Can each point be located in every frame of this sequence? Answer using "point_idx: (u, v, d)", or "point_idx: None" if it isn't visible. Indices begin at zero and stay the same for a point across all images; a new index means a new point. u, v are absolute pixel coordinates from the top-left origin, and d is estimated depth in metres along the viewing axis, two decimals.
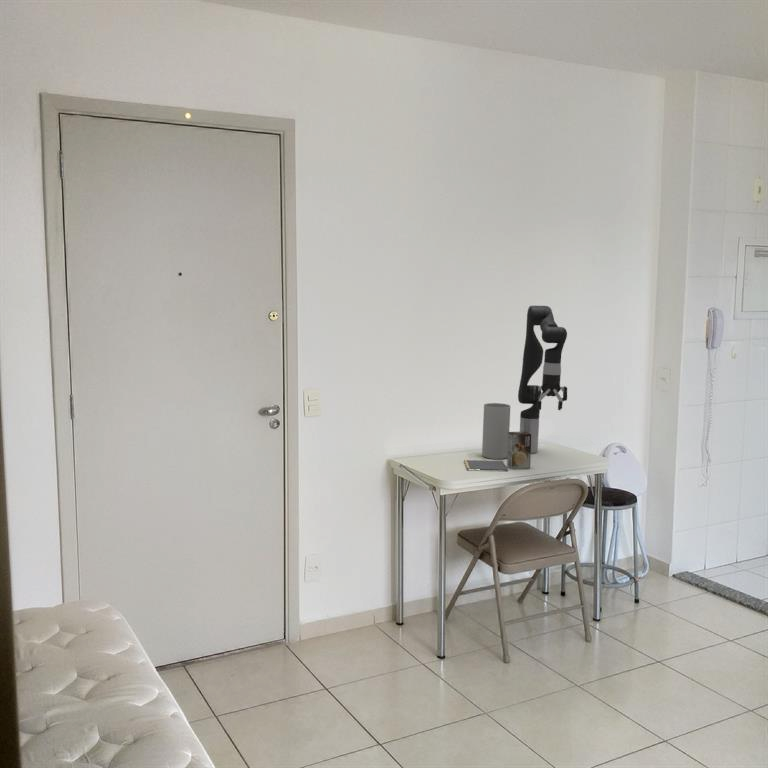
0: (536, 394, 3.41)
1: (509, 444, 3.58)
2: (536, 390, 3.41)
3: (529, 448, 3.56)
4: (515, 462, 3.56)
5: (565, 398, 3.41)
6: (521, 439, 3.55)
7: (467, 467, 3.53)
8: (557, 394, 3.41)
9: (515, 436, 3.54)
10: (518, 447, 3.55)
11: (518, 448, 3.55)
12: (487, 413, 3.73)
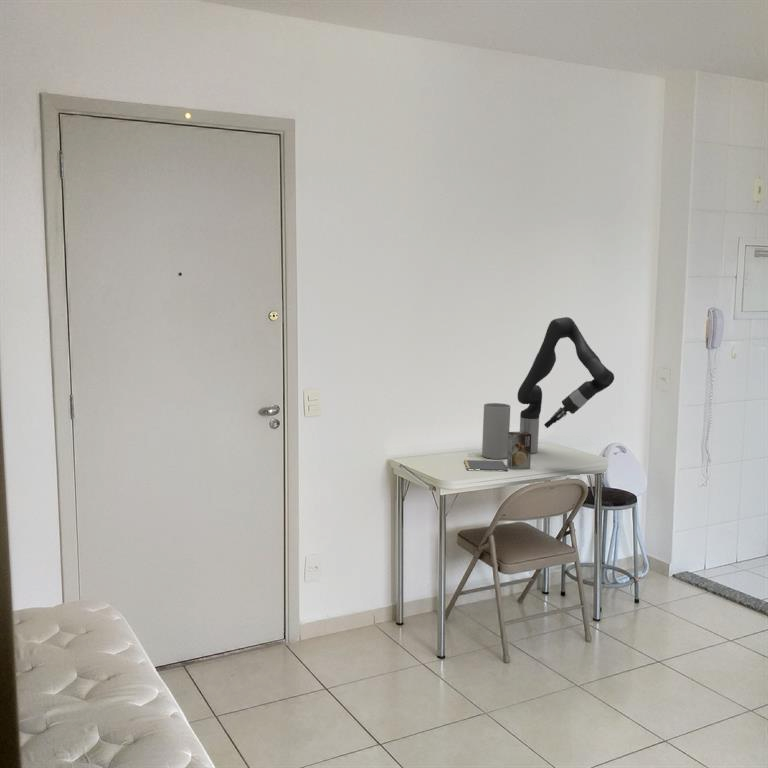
0: (557, 420, 3.48)
1: (509, 444, 3.58)
2: (559, 419, 3.47)
3: (529, 448, 3.56)
4: (515, 462, 3.56)
5: None
6: (521, 439, 3.55)
7: (467, 467, 3.53)
8: None
9: (515, 436, 3.54)
10: (518, 447, 3.55)
11: (518, 448, 3.55)
12: (487, 413, 3.73)
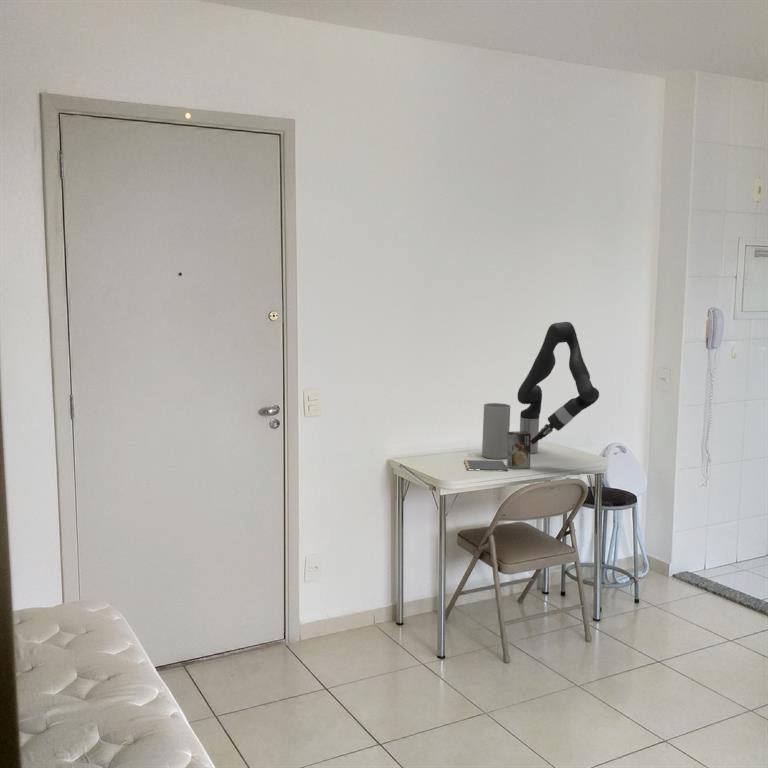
0: None
1: (508, 444, 3.58)
2: (545, 435, 3.50)
3: (529, 448, 3.56)
4: (515, 462, 3.56)
5: None
6: (520, 439, 3.55)
7: (467, 467, 3.53)
8: None
9: (514, 436, 3.54)
10: (517, 447, 3.55)
11: (518, 448, 3.55)
12: (487, 413, 3.73)
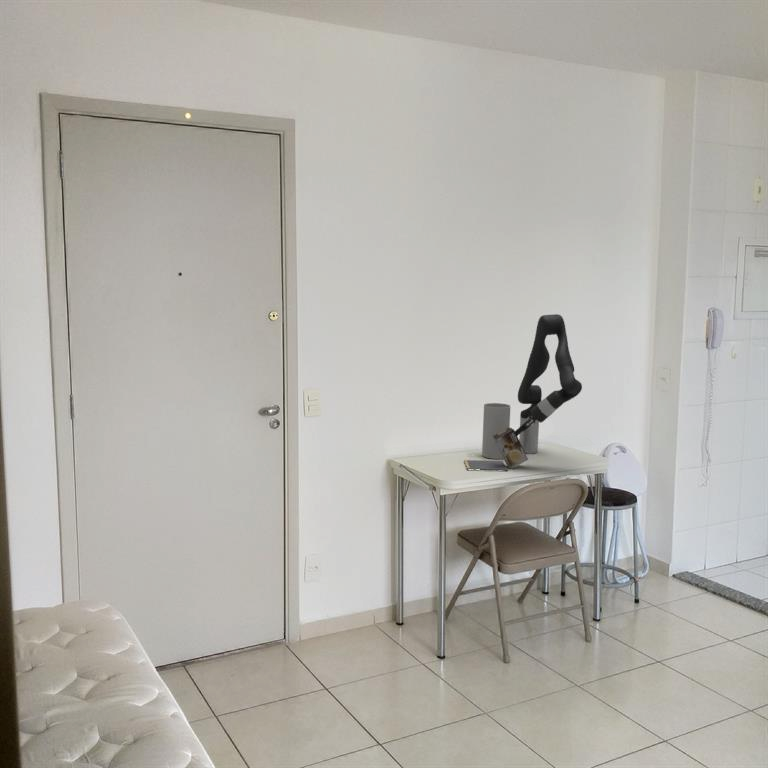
0: (526, 428, 3.53)
1: (499, 447, 3.58)
2: (528, 427, 3.52)
3: (518, 442, 3.55)
4: (512, 461, 3.56)
5: None
6: (507, 439, 3.54)
7: (467, 467, 3.53)
8: None
9: (500, 439, 3.53)
10: (507, 447, 3.54)
11: (509, 448, 3.54)
12: (487, 413, 3.73)
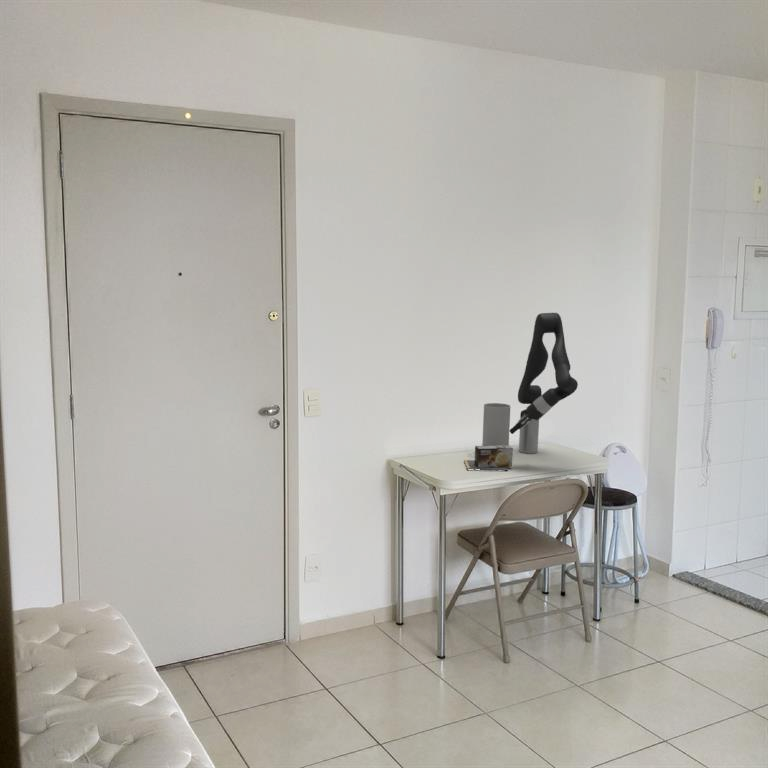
0: (522, 426, 3.53)
1: None
2: (523, 425, 3.52)
3: (493, 449, 3.53)
4: (505, 463, 3.55)
5: None
6: (483, 458, 3.53)
7: (467, 467, 3.53)
8: None
9: (480, 465, 3.53)
10: (490, 461, 3.54)
11: (492, 460, 3.54)
12: (487, 413, 3.73)
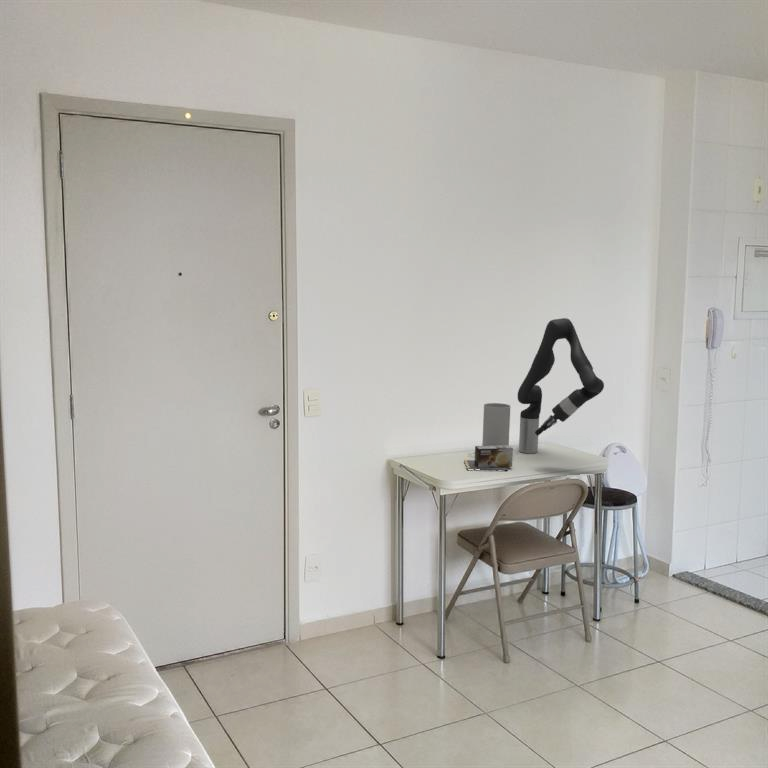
0: (547, 428, 3.50)
1: None
2: (549, 426, 3.48)
3: (493, 450, 3.53)
4: (505, 463, 3.55)
5: None
6: (483, 458, 3.53)
7: (467, 467, 3.53)
8: None
9: (480, 465, 3.53)
10: (490, 461, 3.54)
11: (492, 461, 3.54)
12: (487, 413, 3.73)
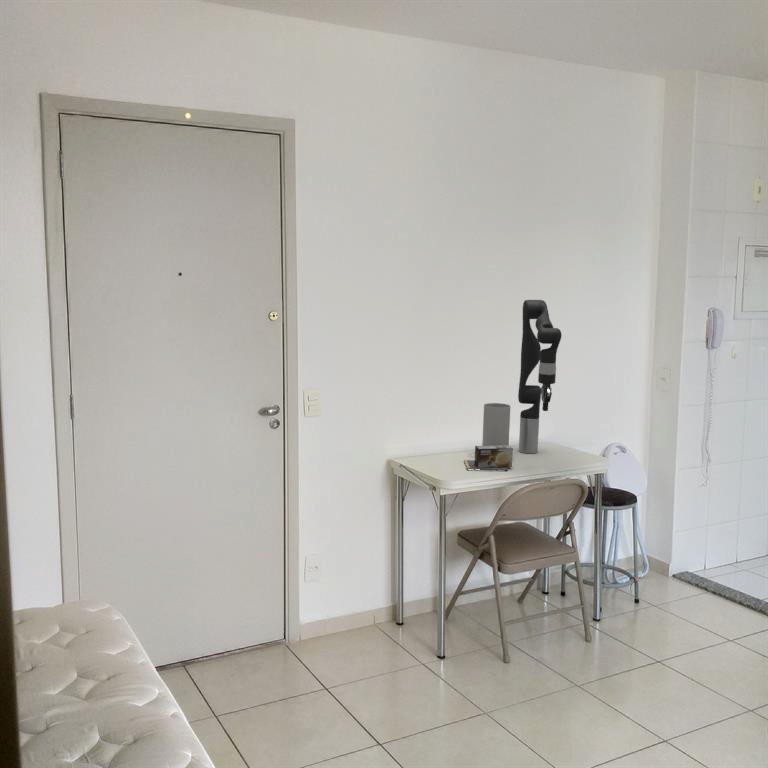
0: None
1: None
2: None
3: (493, 450, 3.53)
4: (505, 463, 3.55)
5: None
6: (483, 458, 3.53)
7: (467, 467, 3.53)
8: None
9: (480, 465, 3.53)
10: (490, 461, 3.54)
11: (492, 461, 3.54)
12: (487, 413, 3.73)
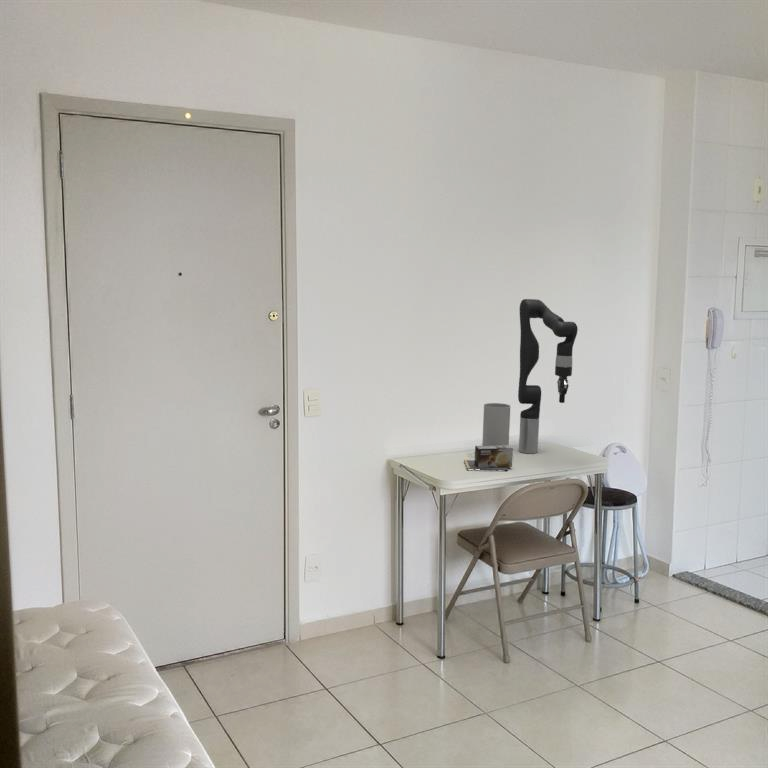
0: None
1: None
2: None
3: (493, 450, 3.53)
4: (505, 463, 3.55)
5: None
6: (483, 458, 3.53)
7: (467, 467, 3.53)
8: None
9: (480, 465, 3.53)
10: (490, 461, 3.54)
11: (492, 461, 3.54)
12: (487, 413, 3.73)
